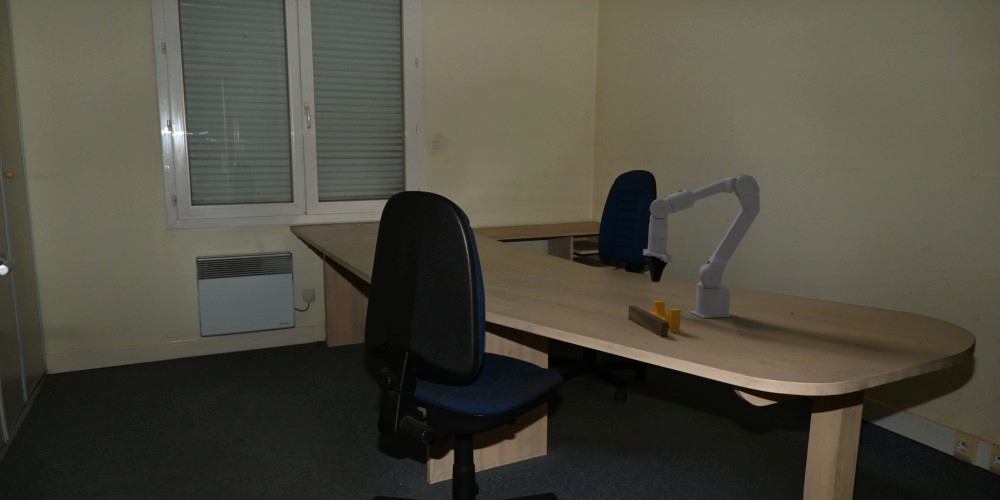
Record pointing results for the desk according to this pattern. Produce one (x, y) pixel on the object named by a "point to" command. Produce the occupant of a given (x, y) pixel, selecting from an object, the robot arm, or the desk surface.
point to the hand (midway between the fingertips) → (655, 281)
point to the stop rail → (648, 321)
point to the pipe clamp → (667, 316)
